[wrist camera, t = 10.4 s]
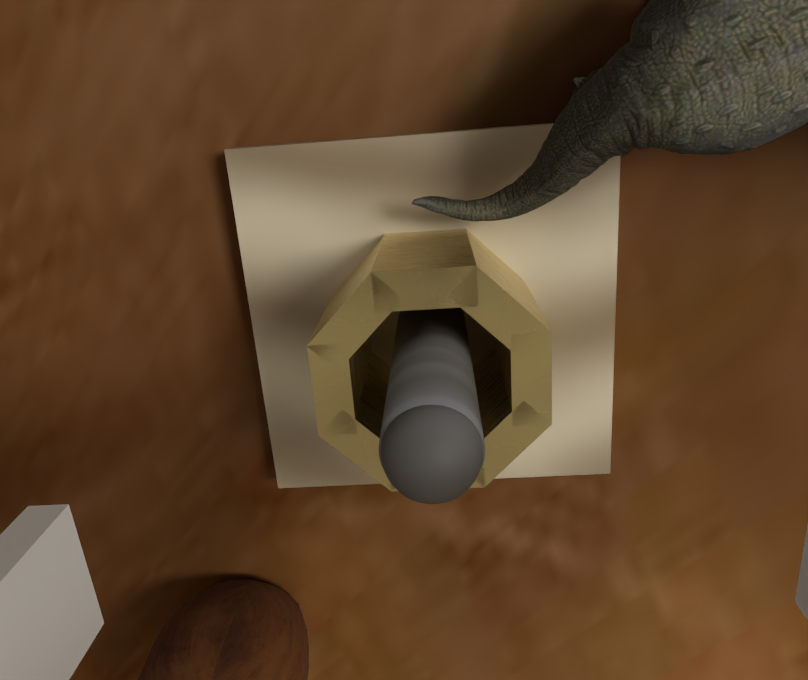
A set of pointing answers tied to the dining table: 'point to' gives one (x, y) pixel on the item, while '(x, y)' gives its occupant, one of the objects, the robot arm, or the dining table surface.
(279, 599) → the wooden figurine
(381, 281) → the sleeve
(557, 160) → the dinosaur figurine
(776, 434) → the dining table surface
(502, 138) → the post board
